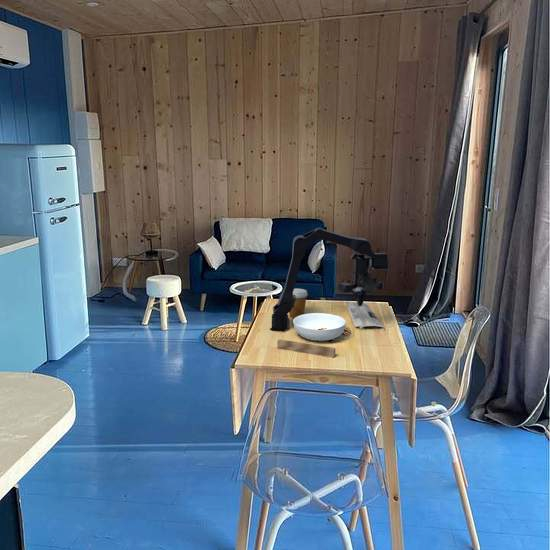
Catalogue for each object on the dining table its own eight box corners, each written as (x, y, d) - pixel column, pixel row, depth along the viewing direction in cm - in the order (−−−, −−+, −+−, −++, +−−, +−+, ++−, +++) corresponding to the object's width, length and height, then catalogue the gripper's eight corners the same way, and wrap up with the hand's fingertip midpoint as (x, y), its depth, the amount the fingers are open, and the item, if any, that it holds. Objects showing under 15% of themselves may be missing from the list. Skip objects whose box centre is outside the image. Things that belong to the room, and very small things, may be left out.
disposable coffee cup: (310, 315, 236) (311, 290, 233) (300, 321, 228) (301, 294, 225) (292, 312, 241) (293, 287, 238) (282, 317, 233) (282, 291, 230)
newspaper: (384, 331, 217) (385, 323, 217) (355, 331, 217) (355, 323, 216) (367, 307, 252) (367, 300, 251) (341, 307, 251) (342, 300, 250)
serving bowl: (285, 331, 215) (285, 315, 213) (330, 326, 222) (331, 310, 220) (305, 349, 196) (306, 331, 194) (355, 342, 203) (355, 325, 201)
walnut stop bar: (277, 348, 196) (277, 340, 195) (279, 346, 197) (279, 339, 197) (333, 357, 187) (333, 349, 186) (335, 355, 189) (335, 348, 188)
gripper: (351, 275, 202) (349, 313, 205) (392, 271, 209) (390, 309, 212) (337, 269, 212) (336, 306, 216) (377, 266, 219) (375, 302, 222)
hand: (359, 306), depth 216 cm, fingers closed
